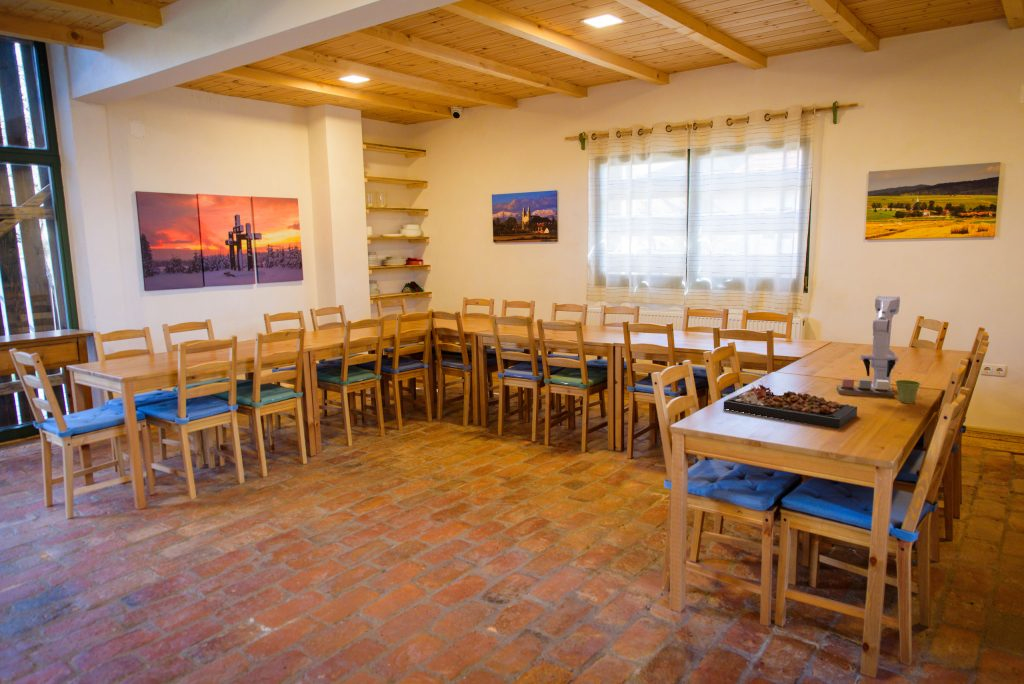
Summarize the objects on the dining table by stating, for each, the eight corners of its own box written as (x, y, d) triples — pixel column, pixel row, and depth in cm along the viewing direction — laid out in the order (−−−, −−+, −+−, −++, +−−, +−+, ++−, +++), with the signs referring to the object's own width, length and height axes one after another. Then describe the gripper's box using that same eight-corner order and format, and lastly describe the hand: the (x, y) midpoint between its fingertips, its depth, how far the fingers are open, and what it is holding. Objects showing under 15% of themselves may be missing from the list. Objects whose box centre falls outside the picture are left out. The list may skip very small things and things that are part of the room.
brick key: (841, 384, 299) (842, 377, 298) (852, 385, 297) (853, 378, 297) (842, 386, 295) (843, 379, 294) (853, 387, 293) (854, 380, 292)
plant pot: (922, 404, 273) (924, 384, 271) (898, 403, 275) (900, 384, 273) (913, 399, 282) (915, 380, 280) (890, 398, 284) (891, 379, 282)
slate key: (858, 385, 296) (858, 378, 296) (869, 386, 295) (870, 379, 294) (859, 387, 292) (860, 380, 292) (871, 388, 290) (871, 381, 290)
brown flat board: (836, 389, 303) (836, 385, 303) (889, 392, 295) (889, 388, 294) (838, 394, 293) (839, 390, 293) (893, 398, 285) (893, 393, 284)
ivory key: (875, 386, 294) (876, 379, 293) (886, 387, 292) (887, 380, 291) (877, 388, 290) (877, 381, 289) (888, 389, 288) (889, 382, 287)
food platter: (723, 411, 268) (724, 387, 267) (746, 400, 286) (747, 378, 285) (839, 430, 238) (840, 404, 237) (856, 417, 257) (858, 392, 255)
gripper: (862, 346, 280) (860, 377, 283) (900, 348, 275) (898, 379, 277) (860, 344, 287) (858, 373, 289) (897, 345, 282) (895, 375, 284)
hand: (877, 376), depth 284 cm, fingers open, 7 cm apart
